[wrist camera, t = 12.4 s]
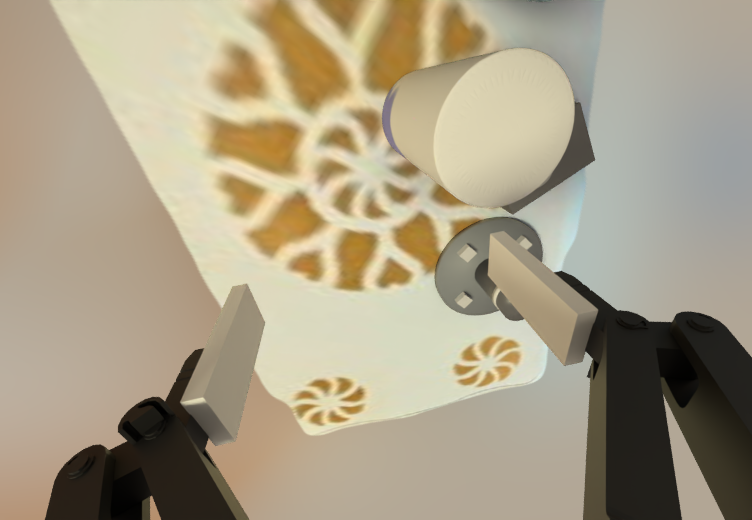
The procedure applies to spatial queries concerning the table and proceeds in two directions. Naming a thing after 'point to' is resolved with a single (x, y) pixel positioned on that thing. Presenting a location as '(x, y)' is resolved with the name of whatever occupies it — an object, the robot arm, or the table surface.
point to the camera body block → (563, 162)
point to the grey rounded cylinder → (495, 292)
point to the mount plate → (476, 263)
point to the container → (483, 123)
